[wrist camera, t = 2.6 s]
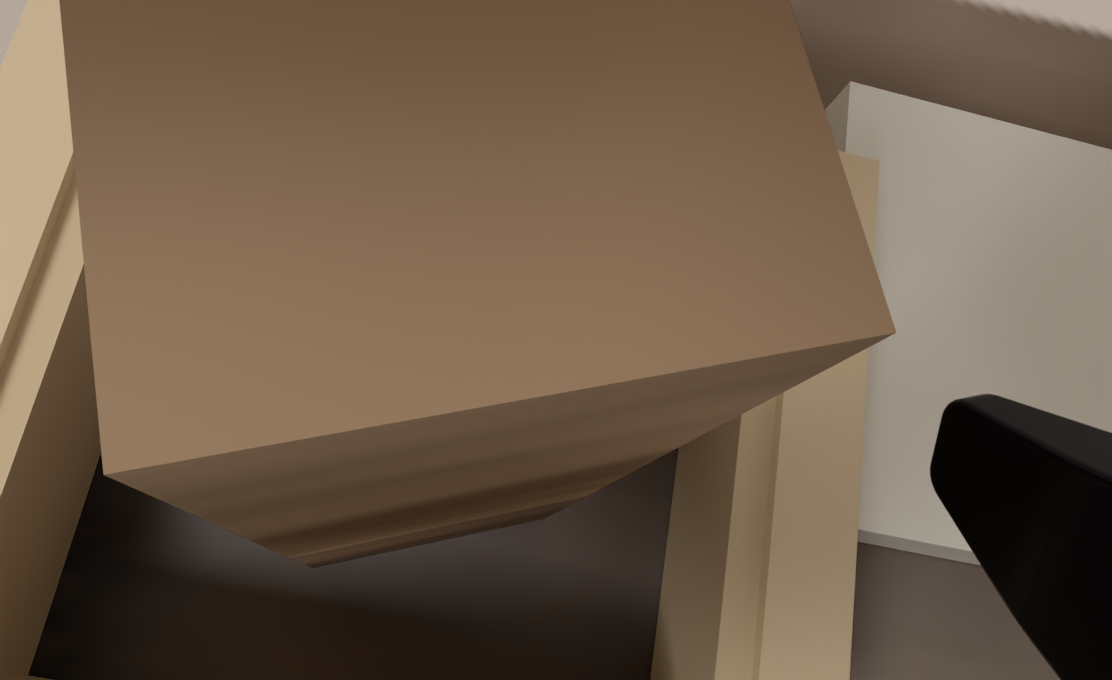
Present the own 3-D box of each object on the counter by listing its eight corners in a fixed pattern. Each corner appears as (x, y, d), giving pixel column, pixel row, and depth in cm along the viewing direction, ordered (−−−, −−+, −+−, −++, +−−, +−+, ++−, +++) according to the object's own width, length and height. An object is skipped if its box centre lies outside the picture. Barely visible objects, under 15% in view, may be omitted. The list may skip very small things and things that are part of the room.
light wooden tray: (741, 821, 17) (837, 881, 13) (-115, 693, 15) (-274, 721, 11) (793, 238, 20) (879, 160, 17) (114, 76, 19) (48, -49, 15)
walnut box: (543, 518, 18) (896, 331, 5) (312, 567, 17) (103, 475, 4) (499, 306, 19) (708, -249, 6) (279, 341, 18) (34, -245, 5)
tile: (1362, 640, 20) (1435, 642, 19) (786, 527, 19) (818, 521, 17) (1317, 242, 23) (1378, 219, 22) (820, 115, 22) (850, 81, 20)
